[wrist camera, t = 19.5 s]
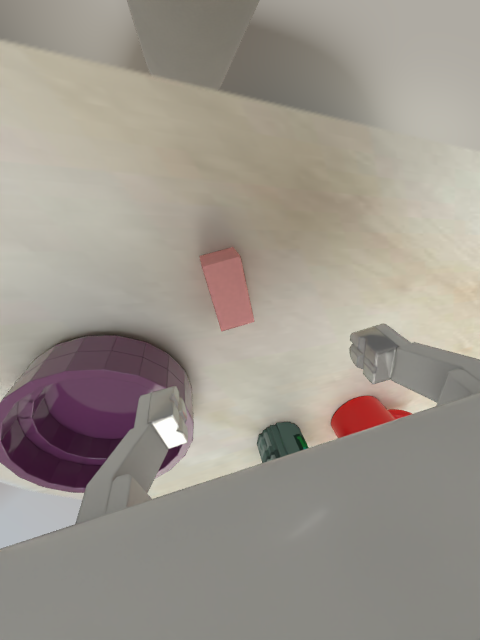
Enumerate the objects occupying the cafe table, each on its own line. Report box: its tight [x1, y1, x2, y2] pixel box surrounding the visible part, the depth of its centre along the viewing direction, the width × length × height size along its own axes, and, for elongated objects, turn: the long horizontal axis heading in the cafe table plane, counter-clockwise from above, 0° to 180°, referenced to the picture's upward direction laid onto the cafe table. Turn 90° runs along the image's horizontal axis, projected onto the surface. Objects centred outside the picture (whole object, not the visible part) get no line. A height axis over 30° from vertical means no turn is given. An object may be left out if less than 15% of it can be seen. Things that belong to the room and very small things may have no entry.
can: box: [257, 422, 308, 463], centre depth 29 cm, size 6×6×15 cm
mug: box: [331, 396, 412, 438], centre depth 34 cm, size 8×12×8 cm, turn 98°
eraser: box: [199, 247, 254, 331], centre depth 22 cm, size 6×3×3 cm, turn 12°
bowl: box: [0, 335, 194, 493], centre depth 24 cm, size 16×16×6 cm
